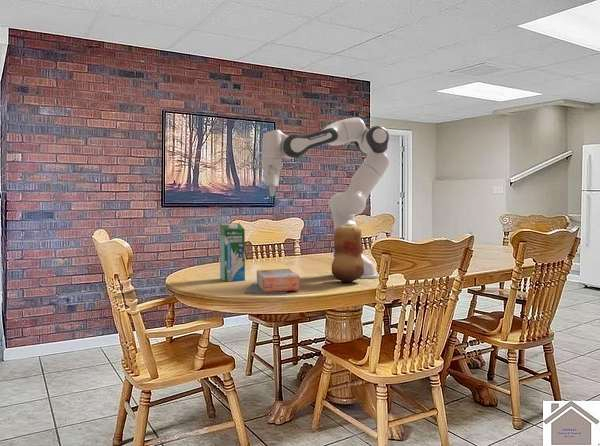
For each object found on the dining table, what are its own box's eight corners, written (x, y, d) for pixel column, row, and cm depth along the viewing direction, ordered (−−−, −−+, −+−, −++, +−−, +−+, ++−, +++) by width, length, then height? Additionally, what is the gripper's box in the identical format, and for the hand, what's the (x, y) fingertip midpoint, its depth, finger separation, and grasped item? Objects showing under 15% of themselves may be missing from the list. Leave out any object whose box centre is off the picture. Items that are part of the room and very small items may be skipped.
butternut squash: (332, 285, 206) (332, 225, 205) (330, 279, 219) (330, 223, 218) (365, 285, 206) (366, 224, 205) (362, 279, 219) (362, 223, 218)
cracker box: (256, 284, 208) (263, 292, 187) (256, 270, 207) (263, 276, 187) (289, 282, 210) (300, 290, 190) (289, 268, 210) (299, 275, 190)
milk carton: (224, 281, 215) (224, 224, 214) (220, 278, 224) (219, 223, 222) (245, 280, 219) (244, 223, 217) (239, 277, 227) (239, 222, 226)
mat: (290, 284, 208) (290, 283, 208) (285, 293, 187) (285, 292, 187) (252, 284, 209) (252, 283, 209) (243, 293, 188) (243, 292, 188)
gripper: (276, 164, 215) (276, 196, 216) (281, 167, 235) (281, 196, 236) (261, 164, 215) (262, 196, 216) (268, 167, 236) (268, 196, 236)
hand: (272, 196), depth 226 cm, fingers closed
